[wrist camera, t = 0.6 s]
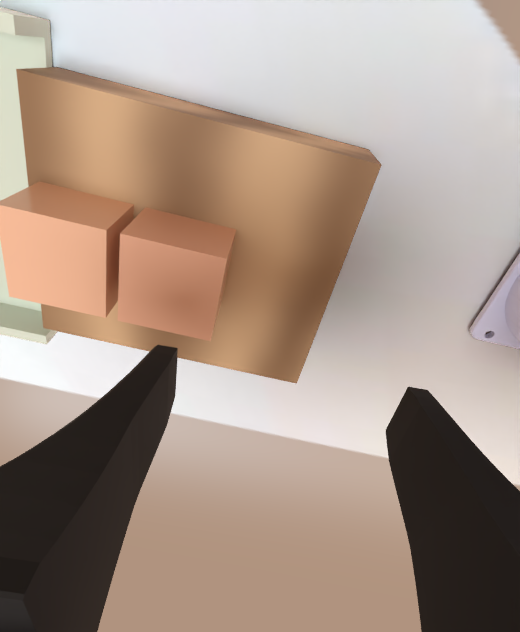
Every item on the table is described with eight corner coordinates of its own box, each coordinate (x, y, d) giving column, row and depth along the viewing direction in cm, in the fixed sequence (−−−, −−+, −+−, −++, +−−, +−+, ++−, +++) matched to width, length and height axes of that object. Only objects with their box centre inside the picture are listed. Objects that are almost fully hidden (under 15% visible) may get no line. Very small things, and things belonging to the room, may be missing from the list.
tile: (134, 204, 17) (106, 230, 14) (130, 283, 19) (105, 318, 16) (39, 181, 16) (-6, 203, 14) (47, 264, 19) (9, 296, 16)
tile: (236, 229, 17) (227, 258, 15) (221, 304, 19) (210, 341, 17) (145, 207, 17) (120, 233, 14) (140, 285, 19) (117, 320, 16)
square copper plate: (368, 149, 18) (381, 164, 15) (295, 349, 24) (296, 383, 22) (57, 67, 17) (15, 68, 14) (69, 299, 23) (43, 328, 21)
